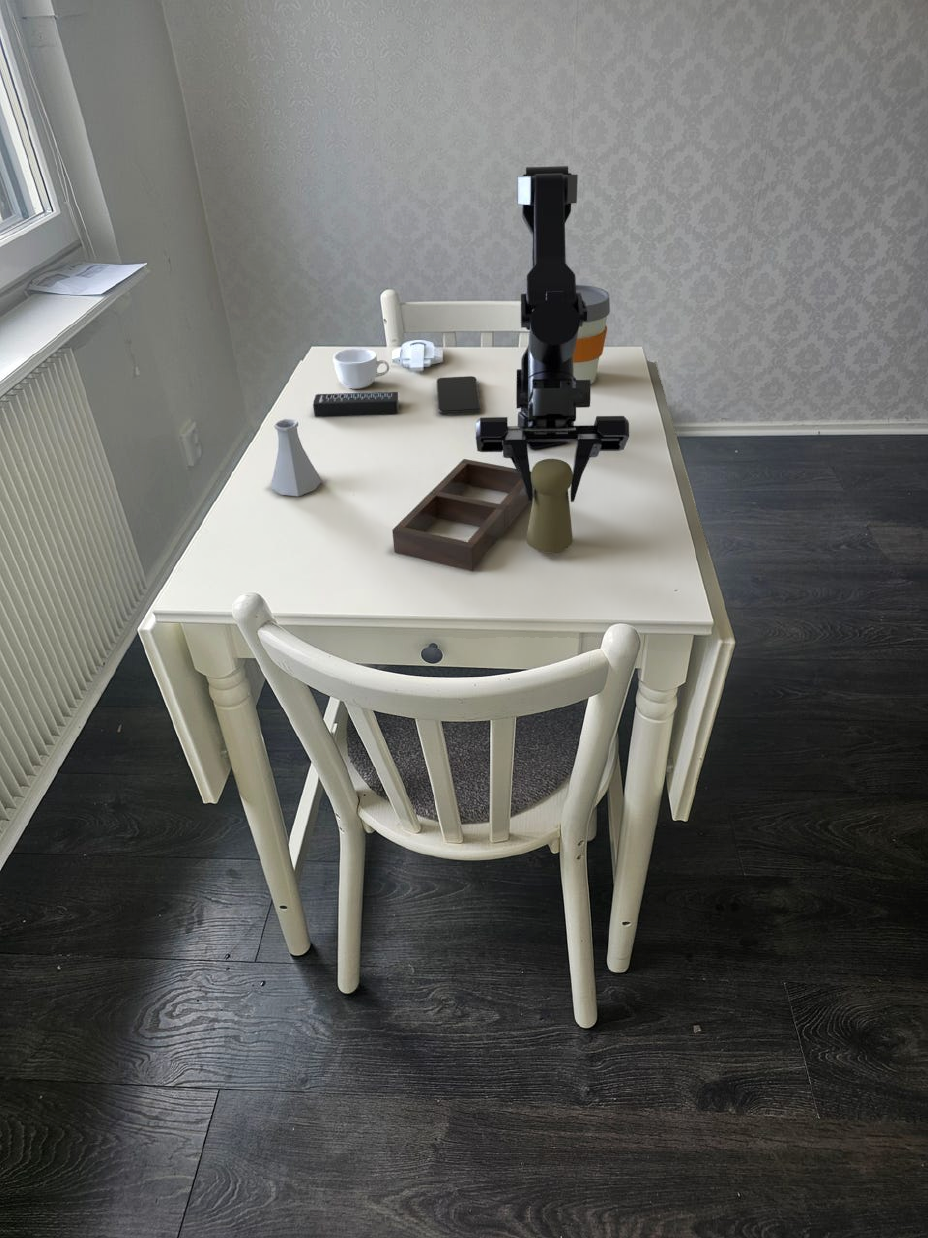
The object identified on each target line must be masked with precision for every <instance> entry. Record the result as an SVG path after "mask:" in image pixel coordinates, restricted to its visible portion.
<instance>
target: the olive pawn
mask: <svg viewBox="0 0 928 1238" xmlns="http://www.w3.org/2000/svg"><path fill="white" fill-rule="evenodd" d="M530 471H531V482H532V486H533V487H534V488H535V490H534V496H533V497H532V502H531V509H530V515H529V520H528V527H527V531H526V532H527V533H526V538H525V539H526V543H527V545H528V546H529V548H531V549H533V550H535V551H537V552H541V553H547V554H548V553H551V554H552V553H559V552H564V551H565V550H567V549H569V548H570V547H571V546H572V545H573V542H574V538H573V528H572V516H571V505H570V498H569V489H571V483H572V480H573V468H572V467H571V466H570V464H569V463H568V462H567V461H564V460H562V459H559V458H546V459H542V460H539V461H537V462H536V463H535V464H534V465H533V467H532V469H531V470H530Z"/></svg>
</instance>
